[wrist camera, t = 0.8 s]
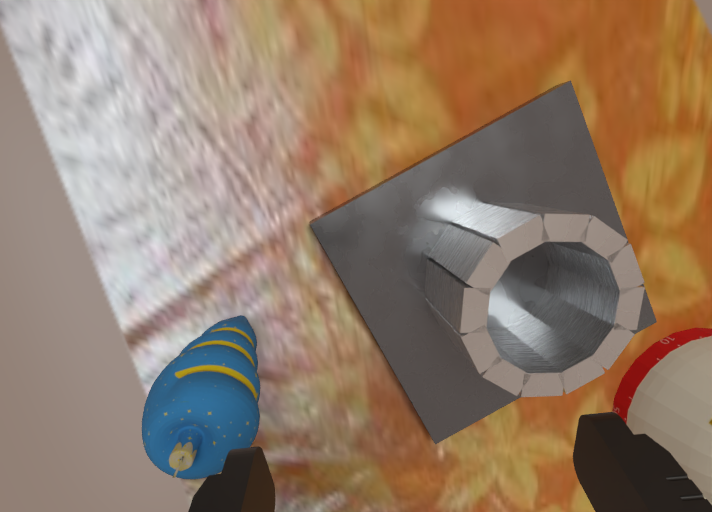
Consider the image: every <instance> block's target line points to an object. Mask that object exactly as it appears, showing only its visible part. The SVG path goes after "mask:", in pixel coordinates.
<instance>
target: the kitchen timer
mask: <svg viewBox="0 0 712 512" xmlns="http://www.w3.org/2000/svg"><path fill="white" fill-rule="evenodd" d="M613 412H615V413H617V414H618V415H619V416H620V417H621V418H622V419H623V421H624V422H625V423H626V425H627V426H628V427H629V429H630V430H631V431H632V433H633V434H634V435H635V434H646V435H648V436H649V437H650V438H652V439H653V440H654V441H656V442H657V443H658V444H660V445H661V446H662V447H664V448H665V449H666V450H668V451H669V452H670V453H671V455H672V456H673V457H674V458H675V460H676V461H677V462H678V463H679V465H680V466H681V467H682V468H683V470H684V471H685V472H686V473H687V476H688V478H689V479H691V480H692V481H693V482H694V483H695V485H696V486H697V487H698V488H699V490H700V491H701V492H702V493H703V497H704V498H705V499H707V500H708V501H709V502H710V504H711V505H712V329H707V328H693V329H689V330H684V331H680V332H676V333H673V334H671V335H669V336H668V337H666V338H664V339H662V340H660V341H658V342H656V343H654V344H653V345H652V346H651V347H649V348H648V349H647V350H646V351H645V352H644V353H643V354H642V355H640V356H639V357H638V358H637V359H636V360H635V361H634V363H633V364H632V366H631V367H630V368H629V370H628V371H627V373H626V374H625V375H624V377H623V378H622V380H621V383H620V385H619V388H618V390H617V393H616V395H615V398H614V404H613Z"/></svg>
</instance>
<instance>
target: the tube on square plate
mask: <svg viewBox="0 0 712 512" xmlns="http://www.w3.org/2000/svg"><path fill="white" fill-rule="evenodd" d="M310 225H311V227H312V229H313V231H314V232H315V234H316V236H317V238H318V239H319V241H320V243H321V245H322V246H323V248H324V250H325V252H326V253H327V255H328V257H329V259H330V260H331V262H332V264H333V266H334V267H335V269H336V271H337V273H338V274H339V276H340V278H341V280H342V281H343V283H344V285H345V287H346V288H347V290H348V292H349V294H350V296H351V297H352V299H353V301H354V303H355V304H356V306H357V308H358V310H359V311H360V313H361V315H362V317H363V318H364V320H365V322H366V324H367V325H368V327H369V329H370V331H371V332H372V334H373V336H374V338H375V339H376V341H377V343H378V345H379V346H380V348H381V350H382V352H383V353H384V355H385V357H386V359H387V360H388V362H389V364H390V366H391V367H392V369H393V371H394V373H395V374H396V376H397V378H398V380H399V381H400V383H401V385H402V387H403V388H404V390H405V392H406V394H407V395H408V397H409V399H410V401H411V402H412V404H413V406H414V408H415V409H416V411H417V413H418V415H419V416H420V418H421V420H422V422H423V423H424V425H425V427H426V429H427V430H428V432H429V434H430V436H431V437H432V439H433V441H434V443H435V444H437V443H439V442H440V441H442V440H444V439H446V438H448V437H449V436H451V435H453V434H455V433H457V432H459V431H460V430H462V429H464V428H466V427H468V426H469V425H471V424H473V423H475V422H477V421H478V420H480V419H482V418H484V417H486V416H487V415H489V414H491V413H493V412H495V411H496V410H498V409H500V408H502V407H504V406H506V405H507V404H509V403H511V402H513V401H515V400H516V399H518V398H520V397H536V396H562V394H563V391H564V392H565V393H566V394H568V393H570V392H572V391H573V390H575V389H577V388H579V387H581V386H582V385H584V384H586V383H588V382H590V381H591V380H593V379H595V378H597V377H599V376H601V375H602V374H604V373H605V372H604V370H603V368H602V366H603V367H604V368H606V369H608V370H609V368H610V367H611V366H612V364H613V363H614V362H615V360H616V359H617V358H618V356H619V355H620V354H621V352H622V351H623V350H624V348H625V347H626V345H627V344H628V343H629V341H630V340H631V339H632V337H633V336H634V335H635V334H636V333H637V332H639V331H641V330H643V329H645V328H647V327H648V326H650V325H652V324H654V323H656V322H657V321H656V318H655V316H654V313H653V310H652V307H651V304H650V302H649V299H648V296H647V293H646V290H645V287H644V285H643V283H644V280H643V277H642V274H641V271H640V269H639V266H638V263H637V260H636V257H635V255H634V252H633V249H632V246H631V244H629V243H628V240H627V237H626V234H625V232H624V229H623V226H622V223H621V220H620V218H619V215H618V212H617V209H616V206H615V203H614V201H613V198H612V195H611V192H610V189H609V187H608V184H607V181H606V178H605V175H604V173H603V170H602V167H601V164H600V161H599V159H598V156H597V153H596V150H595V147H594V145H593V142H592V139H591V136H590V133H589V131H588V128H587V125H586V122H585V119H584V117H583V114H582V111H581V108H580V105H579V103H578V100H577V97H576V94H575V91H574V89H573V86H572V83H571V81H568V82H565V83H562V84H559V85H556V86H555V87H553V88H551V89H549V90H547V91H546V92H544V93H542V94H540V95H538V96H536V97H535V98H533V99H531V100H529V101H527V102H526V103H524V104H522V105H520V106H518V107H517V108H515V109H513V110H511V111H509V112H507V113H506V114H504V115H502V116H500V117H498V118H497V119H495V120H493V121H491V122H489V123H488V124H486V125H484V126H482V127H480V128H478V129H477V130H475V131H473V132H471V133H469V134H468V135H466V136H464V137H462V138H460V139H459V140H457V141H455V142H453V143H451V144H449V145H448V146H446V147H444V148H442V149H440V150H439V151H437V152H435V153H433V154H431V155H430V156H428V157H426V158H424V159H422V160H420V161H419V162H417V163H415V164H413V165H411V166H410V167H408V168H406V169H404V170H402V171H400V172H399V173H397V174H395V175H393V176H391V177H390V178H388V179H386V180H384V181H382V182H381V183H379V184H377V185H375V186H373V187H371V188H370V189H368V190H366V191H364V192H362V193H361V194H359V195H357V196H355V197H353V198H352V199H350V200H348V201H346V202H344V203H342V204H341V205H339V206H337V207H335V208H333V209H332V210H330V211H328V212H326V213H324V214H323V215H321V216H319V217H317V218H315V219H313V220H312V221H310Z"/></svg>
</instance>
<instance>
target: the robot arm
mask: <svg viewBox="0 0 712 512" xmlns="http://www.w3.org/2000/svg"><path fill="white" fill-rule="evenodd" d="M573 462H574V467H575V471H576V474H577V477H578V479H579V481H580V484H581V485H582V487H583V489H584V491H585V493H586V495H587V497H588V499H589V500H590V502H591V504H592V506H593V508H594V510H595V512H712V505H711V504H710V502H709V501H708V500H707V499H705V498H704V497H703V493H702V492H701V491H700V490H699V488H698V487H697V486H696V485H695V483H694V482H693V481H692V480H691V479H689V478H688V476H687V473H686V472H685V471H684V470H683V468H682V467H681V466H680V465H679V463H678V462H677V461H676V460H675V458H674V457H673V456H672V455H671V453H670V452H669V451H668V450H666V449H665V448H664V447H662V446H661V445H660V444H658V443H657V442H656V441H654V440H653V439H652V438H650V437H649V436H648V435H646V434H635V435H634V434H633V433H632V431H631V430H630V429H629V427H628V426H627V425H626V423H625V422H624V421H623V419H622V418H621V417H620V416H619V415H618V414H617V413H615V412H608V413H598V414H588V415H581V416H580V418H579V423H578V428H577V434H576V440H575V446H574V452H573ZM274 510H275V487H274V482H273V479H272V476H271V473H270V471H269V468H268V465H267V462H266V459H265V456H264V453H263V450H262V448H261V447H251V448H241V449H232V450H230V451H229V452H228V454H227V457H226V460H225V463H224V466H223V470H222V473H221V474H216V475H209V476H208V477H207V479H206V480H205V481H204V483H203V484H202V486H201V487H200V488H199V490H198V491H197V493H196V494H195V495H194V497H193V500H192V503H191V506H190V509H189V512H274Z"/></svg>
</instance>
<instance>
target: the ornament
mask: <svg viewBox="0 0 712 512" xmlns="http://www.w3.org/2000/svg"><path fill="white" fill-rule="evenodd" d="M256 346H257V341H256V336H255V333H254V331H253V329H252V327H251V326H250V324H249V322H248V320H247V319H246V317H244V316H237V317H234V318H230V319H226V320H223V321H220V322H218V323H217V324H215V325H213V326H212V327H210V328H209V329H207V330H206V331H205V332H204V333H203V334H202V336H200V337H198V338H197V339H195V340H194V341H192V342H191V343H190V344H188V345H187V346H186V347H185V348H184V349H183V350H182V352H181V353H180V355H179V356H178V357H177V358H175V359H174V360H173V361H171V362H170V363H169V364H168V365H167V366H166V368H165V369H164V370H163V371H162V372H161V373H160V375H159V376H158V378H157V379H156V380H155V382H154V384H153V385H152V387H151V390H150V392H149V395H148V397H147V400H146V403H145V407H144V412H143V418H142V438H143V444H144V447H145V450H146V453H147V455H148V457H149V458H150V460H151V461H152V462H153V463H154V465H155V466H157V467H158V468H159V469H160V470H162V471H163V472H165V473H167V474H169V475H172V476H173V477H177V478H183V479H200V478H205V477H208V476H209V475H215V474H217V473H219V472H221V471H222V470H223V466H224V463H225V460H226V457H227V454H228V452H229V451H230V450H232V449H241V448H250V446H251V444H252V442H253V441H254V439H255V436H256V434H257V431H258V426H259V419H260V414H259V408H258V404H257V403H258V400H259V395H260V381H259V377H258V374H257V366H258V360H257V355H256V352H255V351H256Z"/></svg>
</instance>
